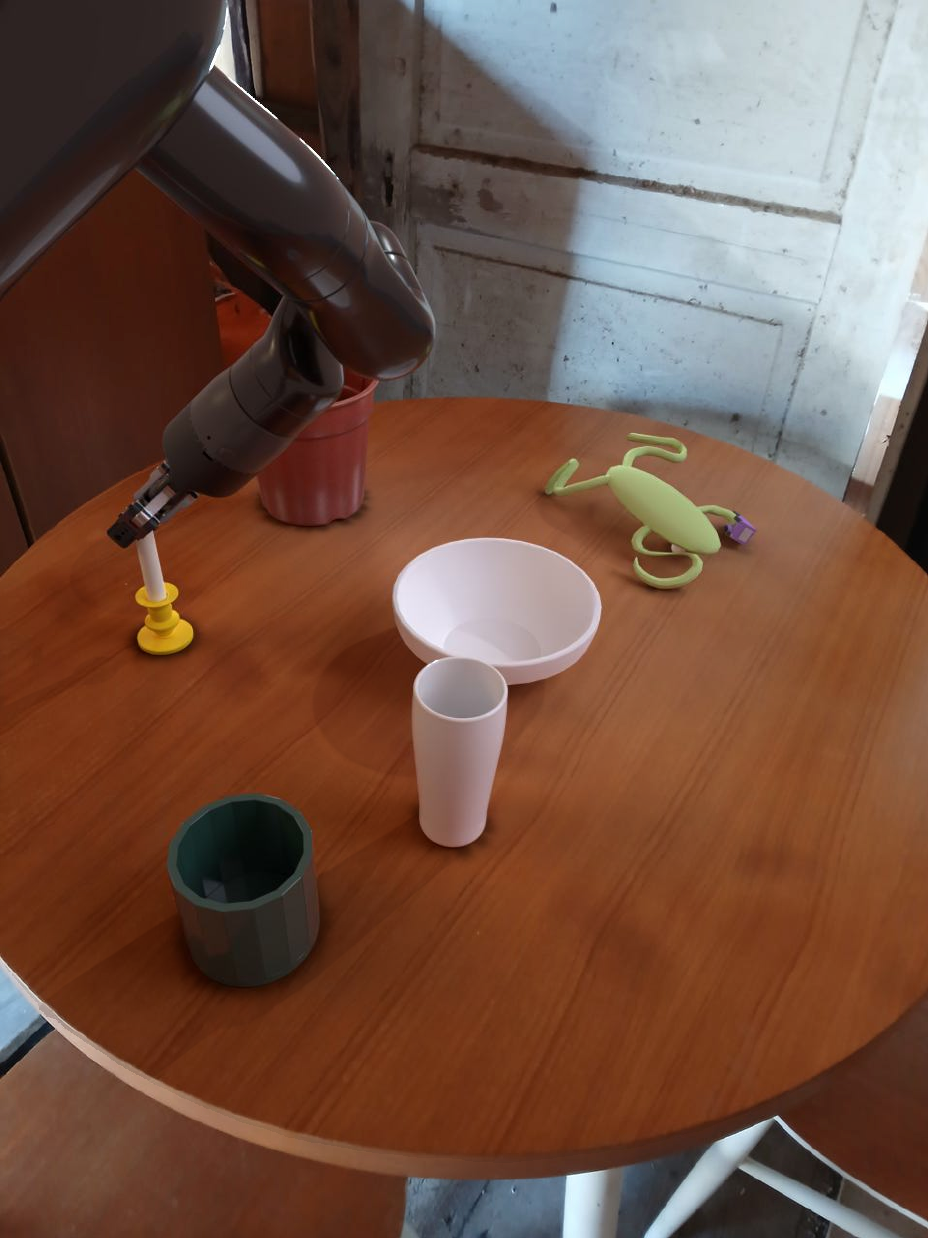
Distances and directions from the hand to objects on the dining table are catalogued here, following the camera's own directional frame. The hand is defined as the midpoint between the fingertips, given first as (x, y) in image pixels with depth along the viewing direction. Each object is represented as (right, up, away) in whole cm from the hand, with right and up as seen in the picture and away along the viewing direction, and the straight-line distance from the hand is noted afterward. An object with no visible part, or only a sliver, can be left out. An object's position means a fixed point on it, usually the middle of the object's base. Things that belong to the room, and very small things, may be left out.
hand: (123, 532), depth 81 cm
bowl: (+33, -11, +8) cm, 36 cm away
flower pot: (+12, +6, +28) cm, 31 cm away
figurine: (+53, +4, +28) cm, 60 cm away
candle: (+1, -10, +7) cm, 12 cm away
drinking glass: (+30, -24, -9) cm, 39 cm away
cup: (+16, -30, -17) cm, 37 cm away
